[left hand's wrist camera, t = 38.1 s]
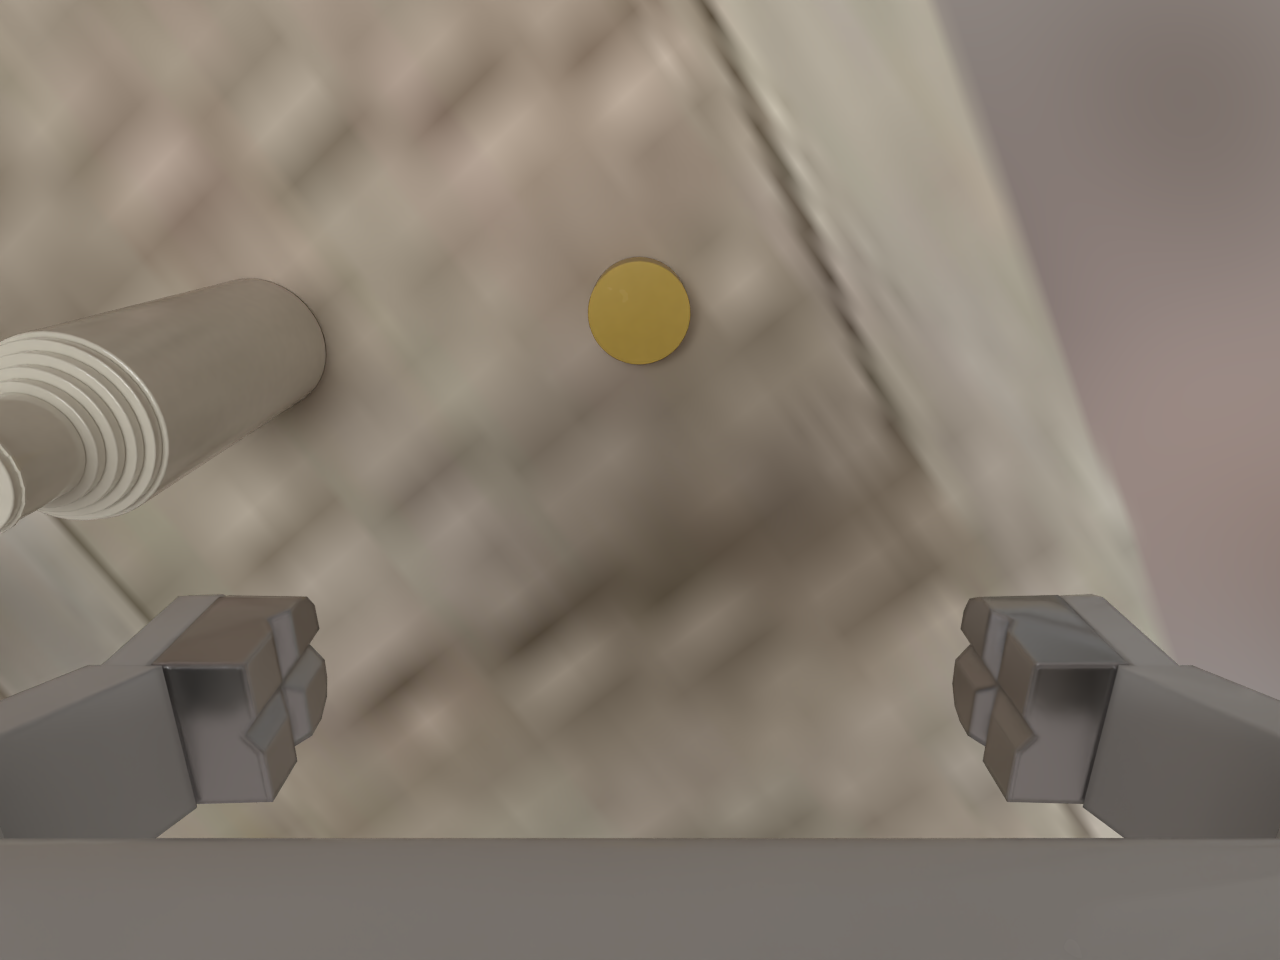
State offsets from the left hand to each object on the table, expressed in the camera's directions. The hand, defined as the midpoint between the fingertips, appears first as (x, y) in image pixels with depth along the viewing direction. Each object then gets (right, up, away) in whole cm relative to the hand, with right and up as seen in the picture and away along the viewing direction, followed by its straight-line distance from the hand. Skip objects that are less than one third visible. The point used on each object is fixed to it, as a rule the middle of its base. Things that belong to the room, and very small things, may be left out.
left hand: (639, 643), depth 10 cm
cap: (0, +9, +25) cm, 27 cm away
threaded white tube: (-18, +8, +28) cm, 34 cm away
